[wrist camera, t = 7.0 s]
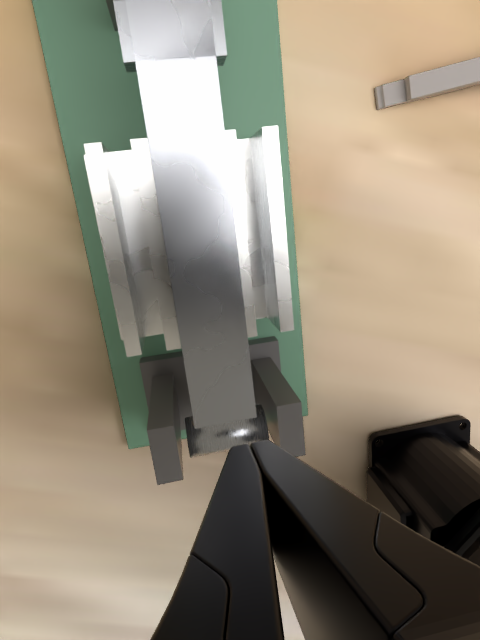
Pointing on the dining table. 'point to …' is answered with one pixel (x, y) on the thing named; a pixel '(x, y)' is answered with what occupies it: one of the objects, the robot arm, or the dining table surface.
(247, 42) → the board
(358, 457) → the dining table surface
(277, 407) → the hinge post
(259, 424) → the strap
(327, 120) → the dining table surface
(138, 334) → the heatsink
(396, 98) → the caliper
